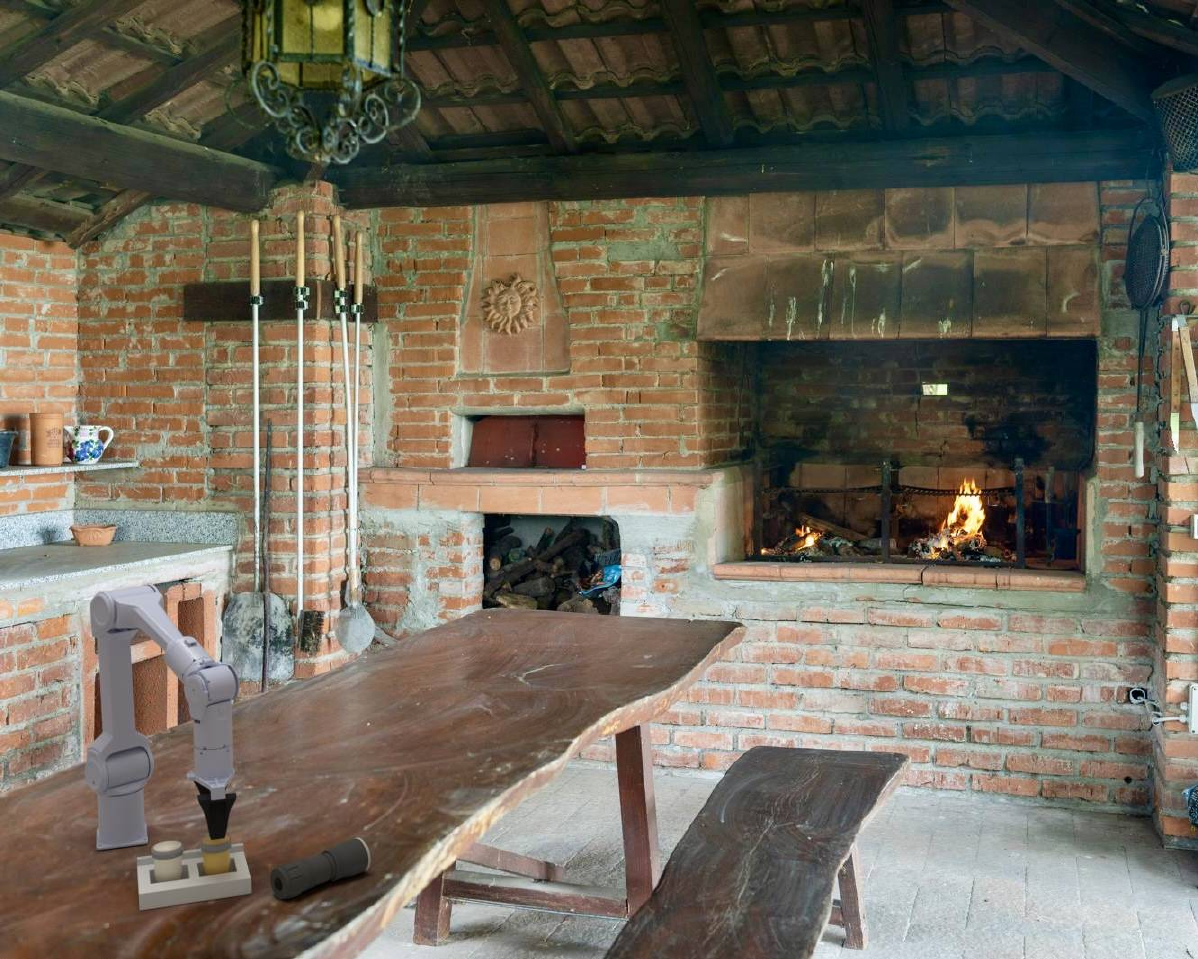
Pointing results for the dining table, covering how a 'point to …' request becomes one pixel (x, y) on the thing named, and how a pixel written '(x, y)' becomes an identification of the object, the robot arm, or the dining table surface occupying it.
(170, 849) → the cream grey-rimmed peg
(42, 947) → the dining table surface
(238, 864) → the housing
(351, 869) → the flashlight
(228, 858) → the yellow cylinder grey rim
